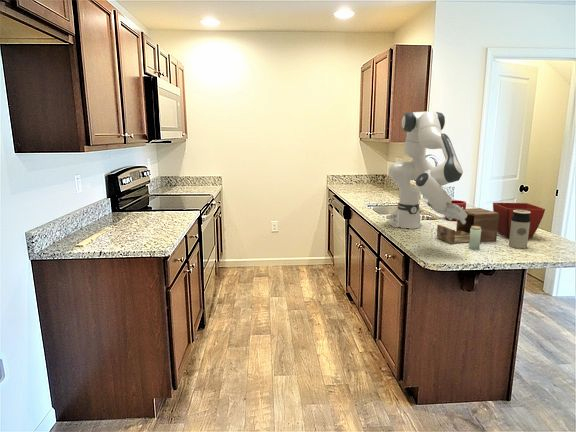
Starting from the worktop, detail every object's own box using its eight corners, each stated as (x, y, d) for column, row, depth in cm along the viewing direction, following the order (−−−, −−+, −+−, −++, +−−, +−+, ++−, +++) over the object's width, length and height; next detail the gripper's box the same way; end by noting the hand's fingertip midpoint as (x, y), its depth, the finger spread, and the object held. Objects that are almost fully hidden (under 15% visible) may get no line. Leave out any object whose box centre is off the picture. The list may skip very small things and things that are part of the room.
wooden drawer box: (455, 236, 218) (458, 209, 215) (477, 234, 222) (480, 208, 219) (473, 243, 205) (476, 214, 202) (496, 241, 209) (499, 213, 205)
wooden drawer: (433, 237, 214) (434, 225, 213) (459, 235, 218) (460, 223, 217) (448, 244, 202) (449, 230, 201) (475, 241, 206) (476, 228, 204)
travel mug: (508, 243, 204) (512, 209, 200) (526, 245, 200) (531, 210, 196) (508, 247, 197) (512, 211, 194) (526, 249, 193) (531, 213, 190)
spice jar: (466, 247, 198) (468, 225, 196) (474, 246, 199) (476, 225, 197) (473, 250, 193) (475, 228, 191) (481, 249, 194) (483, 227, 192)
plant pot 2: (523, 231, 228) (527, 202, 225) (542, 240, 210) (546, 209, 206) (489, 231, 229) (492, 202, 226) (504, 240, 211) (508, 208, 207)
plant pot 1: (459, 217, 266) (460, 199, 264) (468, 221, 254) (470, 203, 251) (439, 217, 266) (441, 199, 263) (448, 221, 253) (449, 203, 251)
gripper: (460, 200, 176) (477, 220, 181) (433, 193, 196) (448, 212, 200) (450, 210, 176) (467, 230, 181) (424, 202, 196) (440, 221, 200)
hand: (457, 220), depth 191 cm, fingers open, 8 cm apart
